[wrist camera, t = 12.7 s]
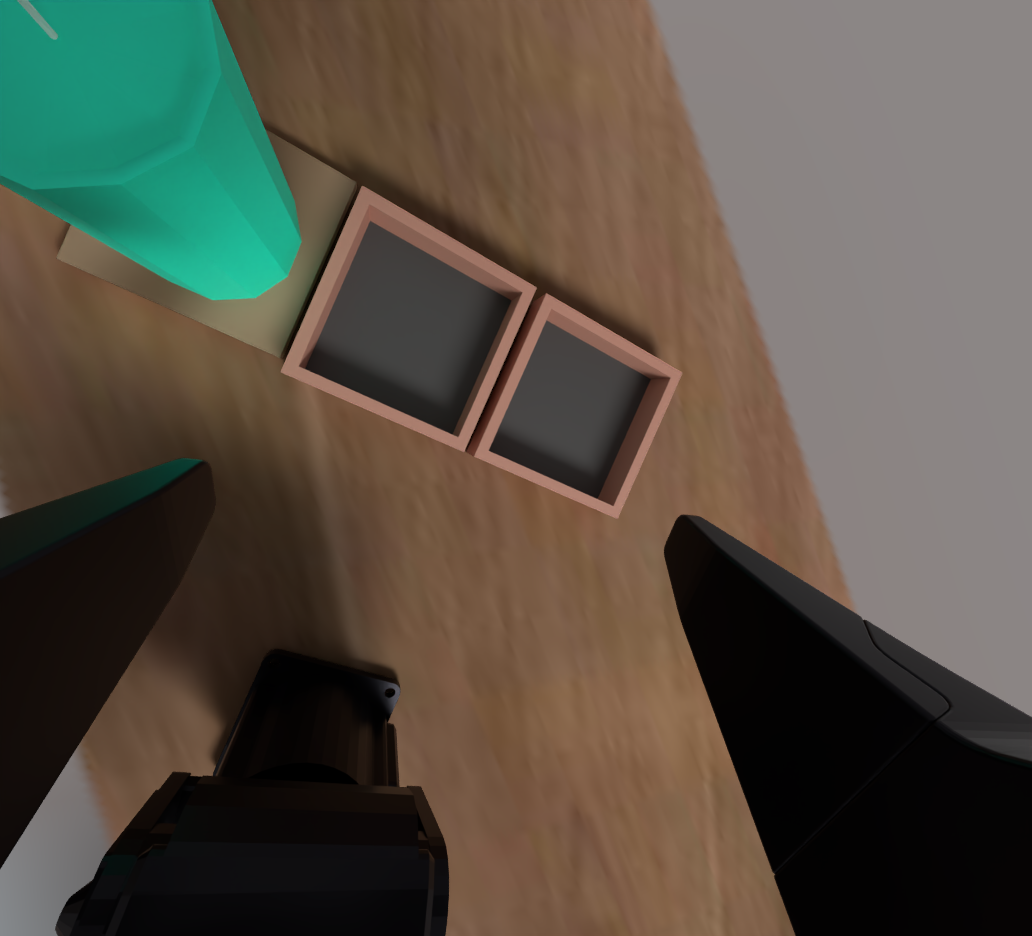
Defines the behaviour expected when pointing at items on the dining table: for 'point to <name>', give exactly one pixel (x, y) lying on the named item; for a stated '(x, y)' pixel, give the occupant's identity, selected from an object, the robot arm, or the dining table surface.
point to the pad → (252, 319)
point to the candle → (145, 139)
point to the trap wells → (478, 358)
